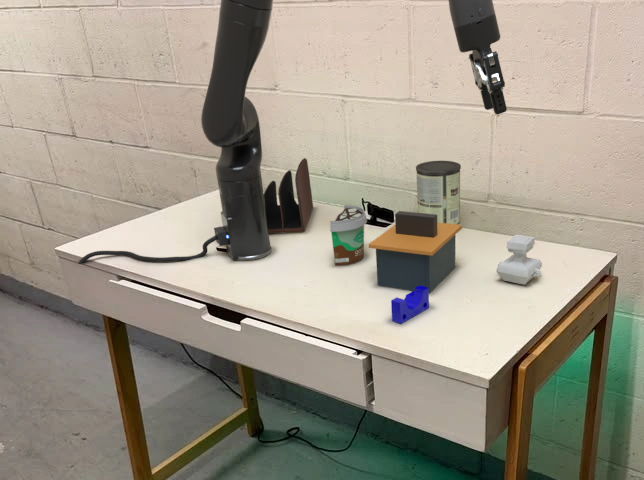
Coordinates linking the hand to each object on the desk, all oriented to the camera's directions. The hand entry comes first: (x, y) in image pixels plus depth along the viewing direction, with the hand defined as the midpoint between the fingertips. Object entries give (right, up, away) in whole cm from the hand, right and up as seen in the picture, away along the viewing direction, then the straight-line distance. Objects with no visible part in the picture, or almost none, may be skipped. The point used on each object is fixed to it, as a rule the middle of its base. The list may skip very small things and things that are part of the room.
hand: (495, 110), depth 130 cm
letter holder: (-45, -12, +45) cm, 65 cm away
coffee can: (-8, -14, +37) cm, 41 cm away
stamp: (+5, -31, +6) cm, 32 cm away
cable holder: (-17, -38, -5) cm, 42 cm away
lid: (-14, -23, +6) cm, 28 cm away
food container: (-27, -25, +20) cm, 42 cm away
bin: (-14, -30, +10) cm, 34 cm away
